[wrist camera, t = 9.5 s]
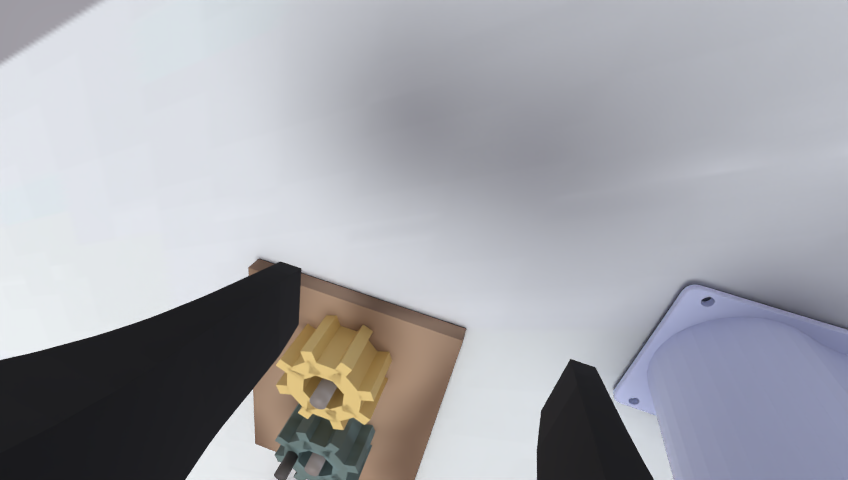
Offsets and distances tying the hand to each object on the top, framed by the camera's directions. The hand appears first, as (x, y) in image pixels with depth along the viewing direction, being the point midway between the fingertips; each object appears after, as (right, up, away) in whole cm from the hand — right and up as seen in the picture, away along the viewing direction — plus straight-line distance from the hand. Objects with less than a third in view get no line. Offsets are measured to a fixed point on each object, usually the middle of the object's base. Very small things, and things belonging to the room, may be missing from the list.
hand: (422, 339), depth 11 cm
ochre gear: (-5, -4, +14) cm, 16 cm away
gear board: (-6, -8, +18) cm, 20 cm away
